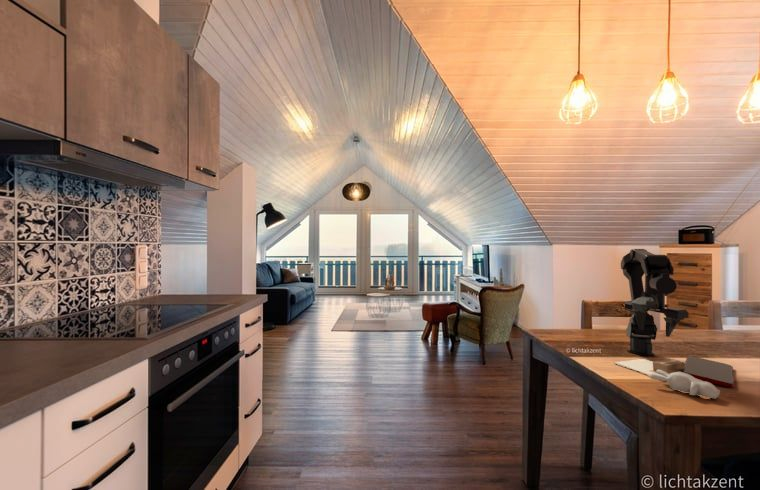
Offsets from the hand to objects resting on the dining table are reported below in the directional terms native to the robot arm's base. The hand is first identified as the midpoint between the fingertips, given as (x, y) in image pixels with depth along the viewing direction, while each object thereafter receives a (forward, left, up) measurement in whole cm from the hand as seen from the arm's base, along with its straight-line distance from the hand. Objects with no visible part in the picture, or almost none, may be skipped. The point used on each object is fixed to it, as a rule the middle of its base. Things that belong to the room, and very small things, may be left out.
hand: (654, 333), depth 128 cm
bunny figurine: (+19, -15, -12) cm, 27 cm away
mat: (+4, -6, -12) cm, 13 cm away
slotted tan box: (+8, -4, -11) cm, 14 cm away
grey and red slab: (+11, +9, -11) cm, 18 cm away
